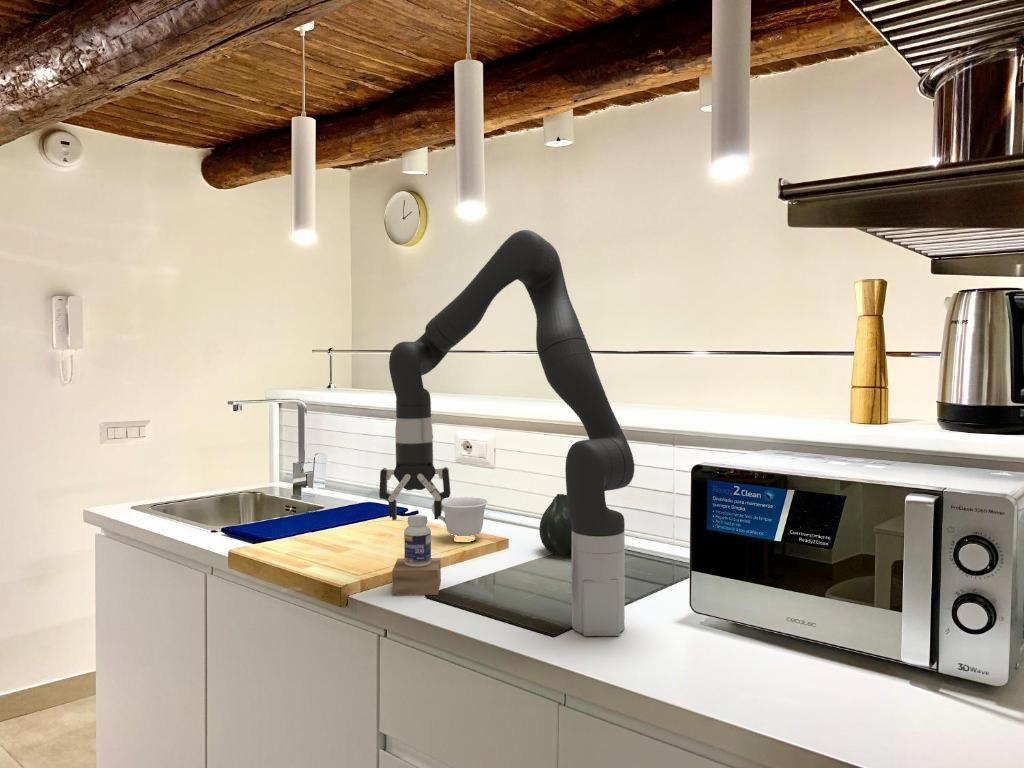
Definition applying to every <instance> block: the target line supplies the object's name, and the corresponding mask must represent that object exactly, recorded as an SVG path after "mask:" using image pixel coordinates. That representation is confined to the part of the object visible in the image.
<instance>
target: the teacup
mask: <svg viewBox="0 0 1024 768" xmlns="http://www.w3.org/2000/svg"><path fill="white" fill-rule="evenodd" d="M488 503H489V501H488V500H487V499H484V498H480V497H474V496H473V497H471V496H470V497H468V496H467V497H466V496H465V497H462V496H461V497H452V498H450V497H449V498H445V499H443V500H442V511H443V513H444V516H443V515H441V516H438V519H439V520H441V521H443V523H444V524H445V527H446V529H447V533H450V534H449V535H451V534H453V535H457V536H471V535H476V534H478V535H479V534H480V533H481V531H482V530H483V527H484V520H485V519H484V518H485V509H486V506H487V505H488ZM431 512H432V514H433V515H434V502H433V503H432V505H431ZM476 536H477V535H476Z"/></svg>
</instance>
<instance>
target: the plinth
mask: <svg viewBox="0 0 1024 768" xmlns="http://www.w3.org/2000/svg"><path fill="white" fill-rule="evenodd" d="M441 561H442V560H441V557H431V563H430V564H429V565H427V566H423V567H411V566H407V565H406V564H405V557H404V558H402V557H401V558H399V557H398V558H397V559H396V561H395V564H394V566H393V568H392V571H391V572H392V578H391V579H392V582H391V583H392V596H431V595H433V596H434V595H435V596H436V595H437V596H438V595H439V591H440V587H441V581H442V571H441V566H442V565H441Z"/></svg>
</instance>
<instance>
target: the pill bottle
mask: <svg viewBox="0 0 1024 768" xmlns="http://www.w3.org/2000/svg"><path fill="white" fill-rule="evenodd" d="M427 524H428V516H427V515H425V514H414V515H409V516H408V517H407V525H408V526H407V527H405V529H404V534H403V535H404V536H403V537H404V542H403V543H404V558H405V564H406V565H407V566H411V567H423V566H427V565H429V564H430V563H431V558H432V544H431V543H432V531H431V530H432V529H431V527H429V526H428V525H427Z"/></svg>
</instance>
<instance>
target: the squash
mask: <svg viewBox="0 0 1024 768" xmlns="http://www.w3.org/2000/svg"><path fill="white" fill-rule="evenodd" d="M548 505H549V506H547V508H546V509H545V511H544V512H543V514H542V516H541V519H540V522H539V538H540V541H541V543H542V544H543V546H544V548H545V549H546V550H547V551H548V552H549V553H551V554H554V555H559V556H562V557H566V556H567V557H569V556H572V525H571V519H570V516H569V513H568V508H567V494H565V493H561V494H560V493H556V496H554V497H553V499H552V501H551V503H550V504H548ZM567 557H566V558H567Z"/></svg>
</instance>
